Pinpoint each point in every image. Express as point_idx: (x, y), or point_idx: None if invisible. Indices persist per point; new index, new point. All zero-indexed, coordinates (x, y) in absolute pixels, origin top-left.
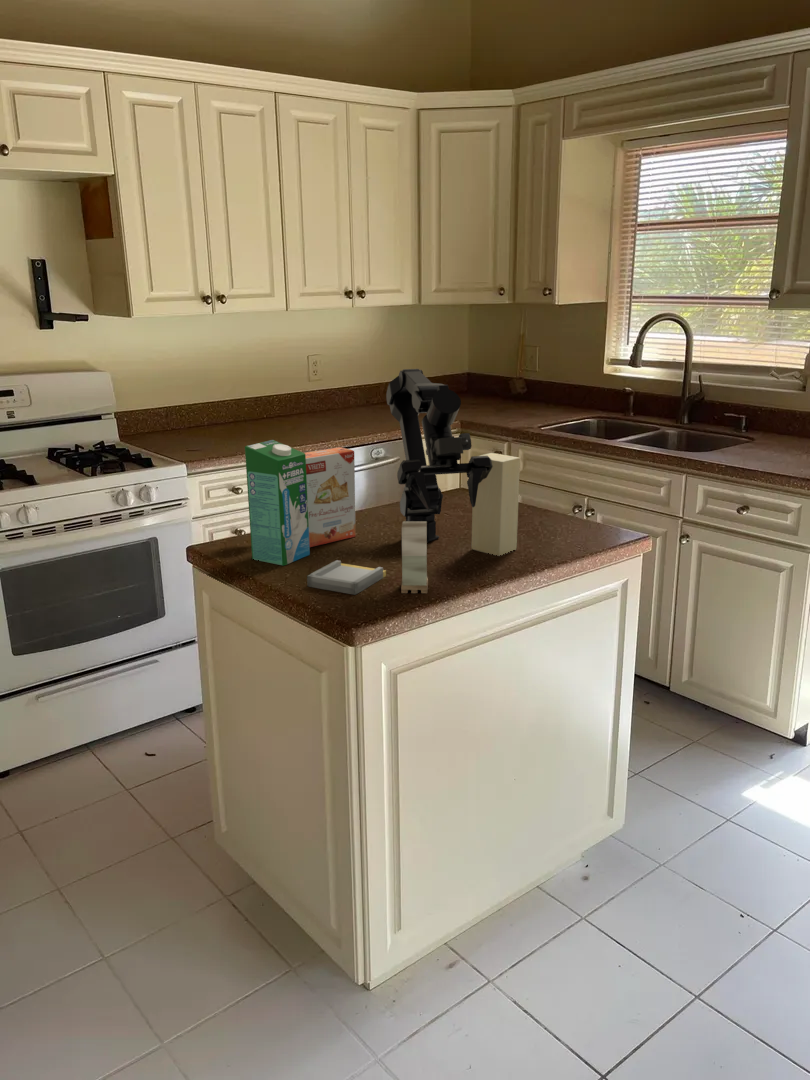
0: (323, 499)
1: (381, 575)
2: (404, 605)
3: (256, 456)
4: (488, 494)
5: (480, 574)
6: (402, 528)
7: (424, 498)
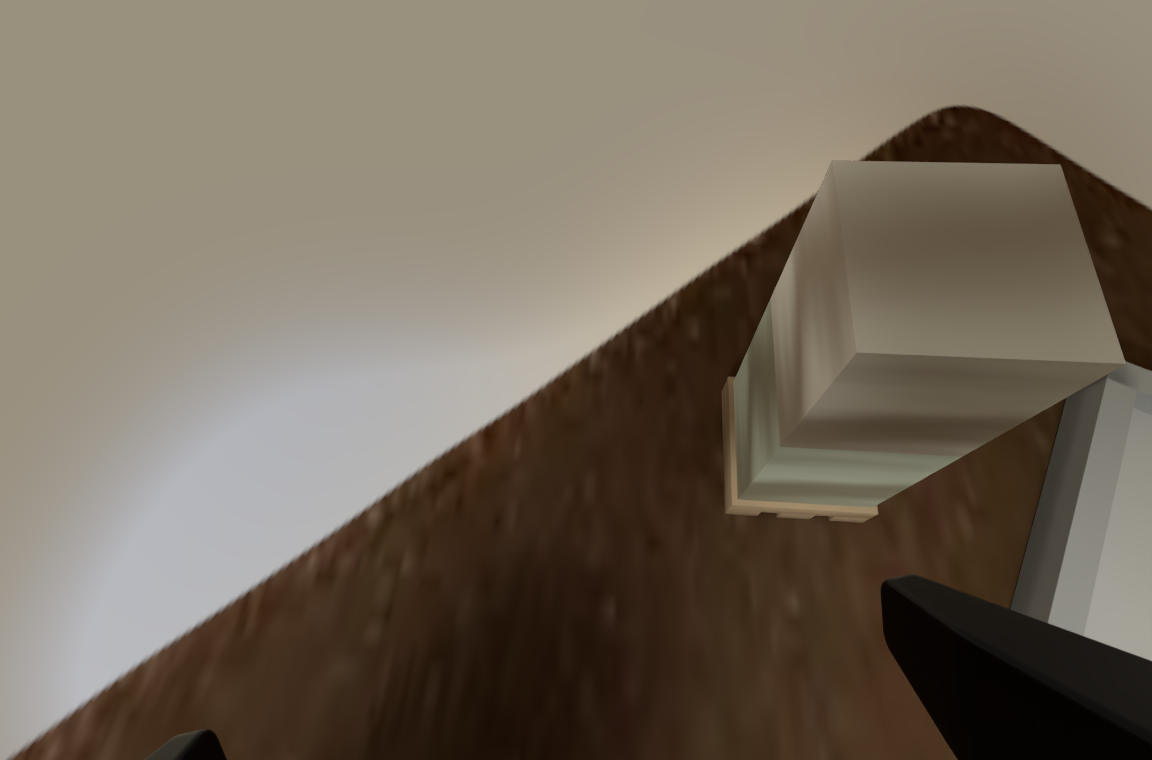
0: None
1: None
2: None
3: None
4: None
5: (420, 673)
6: (1049, 167)
7: (1093, 644)
